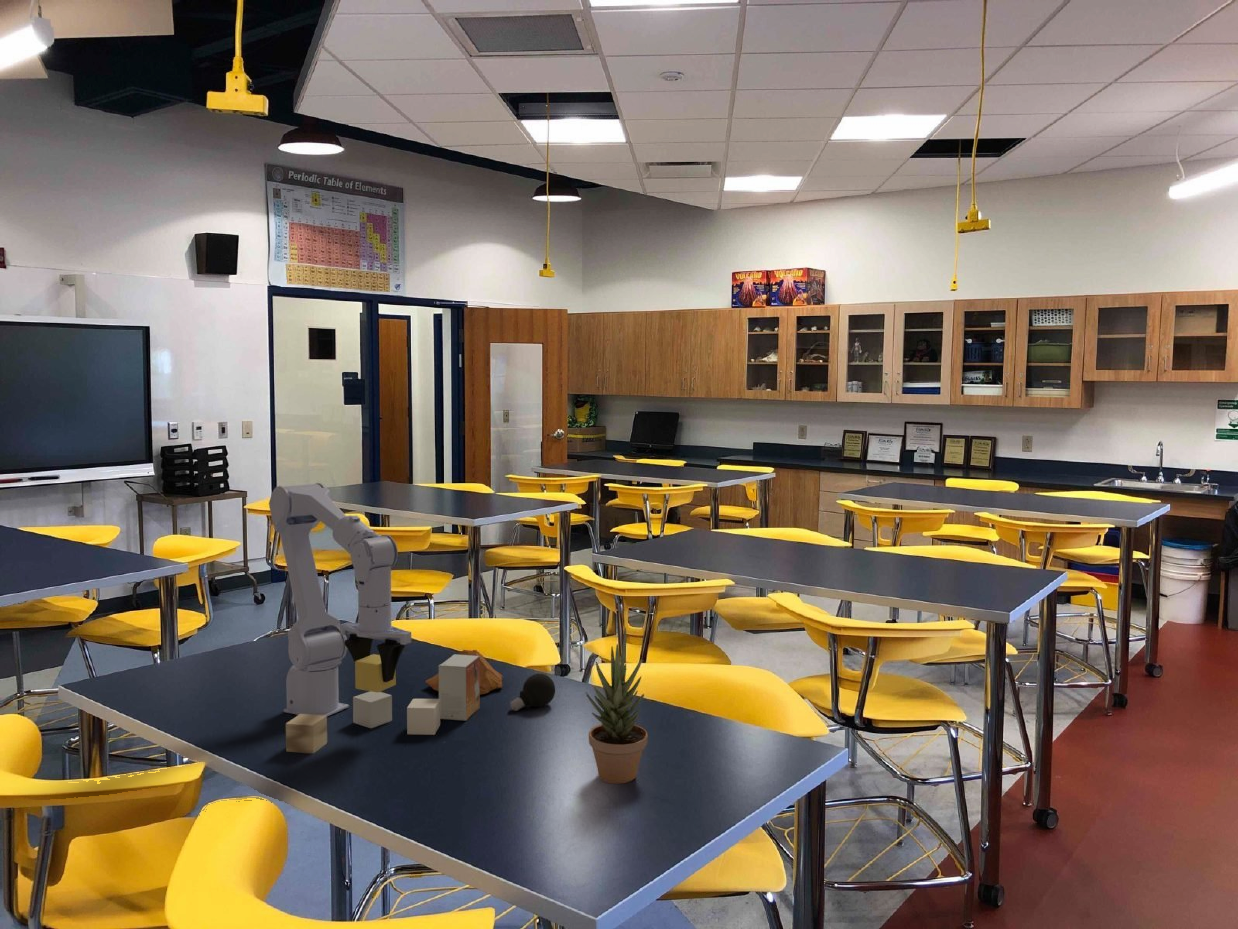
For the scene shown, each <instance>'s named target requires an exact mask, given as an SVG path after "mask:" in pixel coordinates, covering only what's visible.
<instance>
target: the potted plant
mask: <svg viewBox="0 0 1238 929" xmlns="http://www.w3.org/2000/svg"><path fill="white" fill-rule="evenodd" d="M623 631H624V632H623V634H624V635H623V641H622V642H623V643H622V650H621V656H620V650H619V649H620V648H619V644H618V643H616V647H615V653H614V648H613V646H611V651H610V676H611V677H610V679H611V680H610V682H611V684H610V683H609V681H608V680H607V678H606V677H605V675H604V673H603V671H602V670H601V668H600V665H599V663H598V662H597V661H595V667H596V671H597V675H598V677H599V680H600V683H601V685H602V689H603V692H604V695H603V694H602V692H600V691H599V690H598V689H597V687H595V686H593V689H594V691H595V695H594V696H593V697H594V699H595V701H596V702H597V703H596V702H595V701H594V700H593V699H592V697H591V696H590V695H589V694H588V692H585V694H586V697H587V698H588V701H589V702H590V703H591V705H592V706H593V707H594V709H595V710H596V711H597V712H598V713H599V715H597V714H596V713H594V712H592V713H591V715H593V717H594V718H595V719H596V720H598V721H599V722H600V723H601V724H597V725H596V726H592V727H591V729H590V730H589V732H588V744H589V745H590V747H591V749H592V753H593V755H594V756H593V757H594V759H595V764H596V768H597V773H598V777H599V779H600V780H602V781H603V782H604V783H605V782H606V783H609V784H626V783H630V782H631V781H633V780H634V779H636V778H637V774H638V769H639V765H640V761H641V758H642V756H643V755H642V754H643V752H644V751H643V750H644V749H645V748H646V747H647V745H648V737H649V736H648V731H647V730H646V729H644V728H643V727H641V726H639V725H636V724H635V722H636V721H637V720H638V718H639V716H640V714H639V713H640V711H641V710H642V709H641V708H639V709H637V710H636V711H635V709H636V708H637V707H638V705H640V703H641V701H642V700H643V698H644V697H645V693H642V694H641V695H640V696H639V697H638V699H637V700H636V701H635V702H634V700H635V698H636V696H637V694H638V691H639V690H637V689H638V687H639V684H640V682H641V680H642V676H640V677H638V679H637V680H636V682H635V683H634V680H635V678H636V676H637V674H638V672H639V670H640V668H641V665H642V661H643V658H641V659H640V660H639V661H638V663H637V665H636V667H635V668H634V670H633V671H632V673H631V675H630V676H629V677H628V678H627V680H626V674H627V663H626V662H625V661H626V652H627V651H626V650H627V627H624V630H623ZM633 683H634V684H633ZM632 684H633V686H632ZM631 686H632V687H631ZM596 695H597V696H596ZM633 703H634V704H633ZM633 711H635V712H634V713H633ZM632 713H633V714H632ZM631 714H632V715H631Z"/></svg>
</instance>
